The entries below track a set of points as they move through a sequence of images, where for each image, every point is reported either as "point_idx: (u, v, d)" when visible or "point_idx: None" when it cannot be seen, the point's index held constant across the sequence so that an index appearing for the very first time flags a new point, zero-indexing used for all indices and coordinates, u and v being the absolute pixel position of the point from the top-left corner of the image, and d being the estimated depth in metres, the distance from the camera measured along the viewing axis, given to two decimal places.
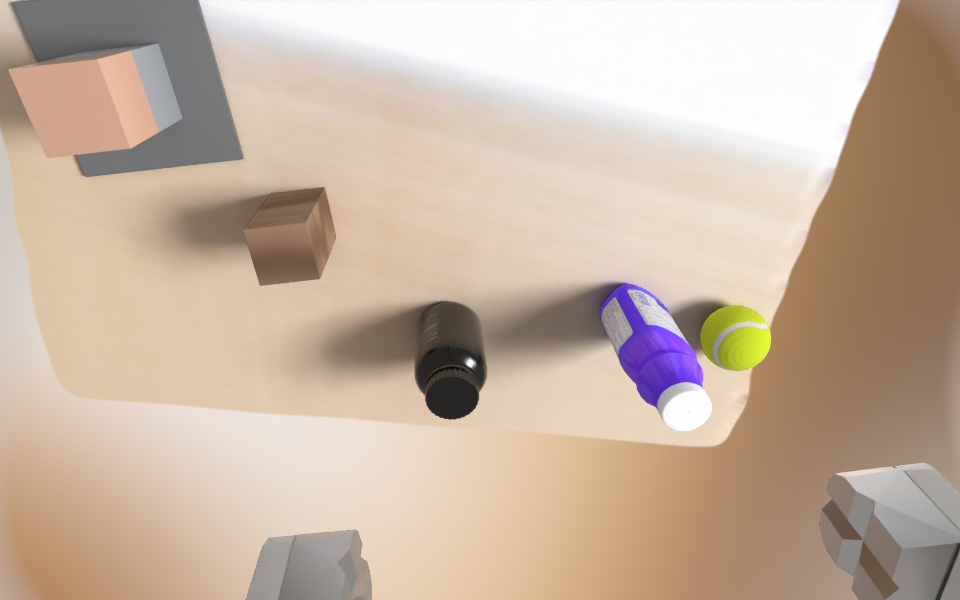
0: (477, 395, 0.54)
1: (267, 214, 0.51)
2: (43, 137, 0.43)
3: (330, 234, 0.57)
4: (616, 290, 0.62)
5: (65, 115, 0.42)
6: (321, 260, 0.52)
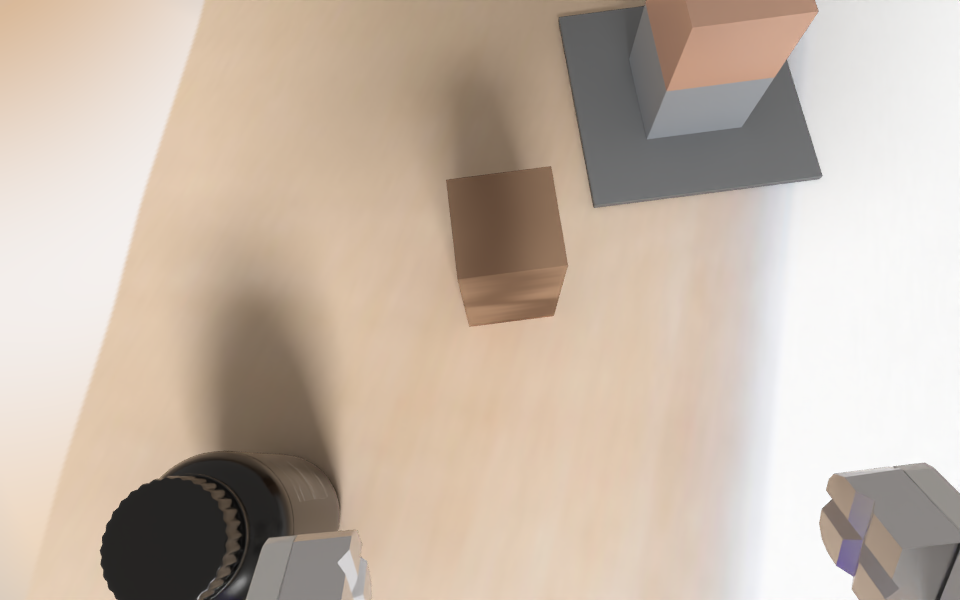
0: None
1: None
2: None
3: (487, 315, 0.34)
4: None
5: None
6: (477, 289, 0.29)
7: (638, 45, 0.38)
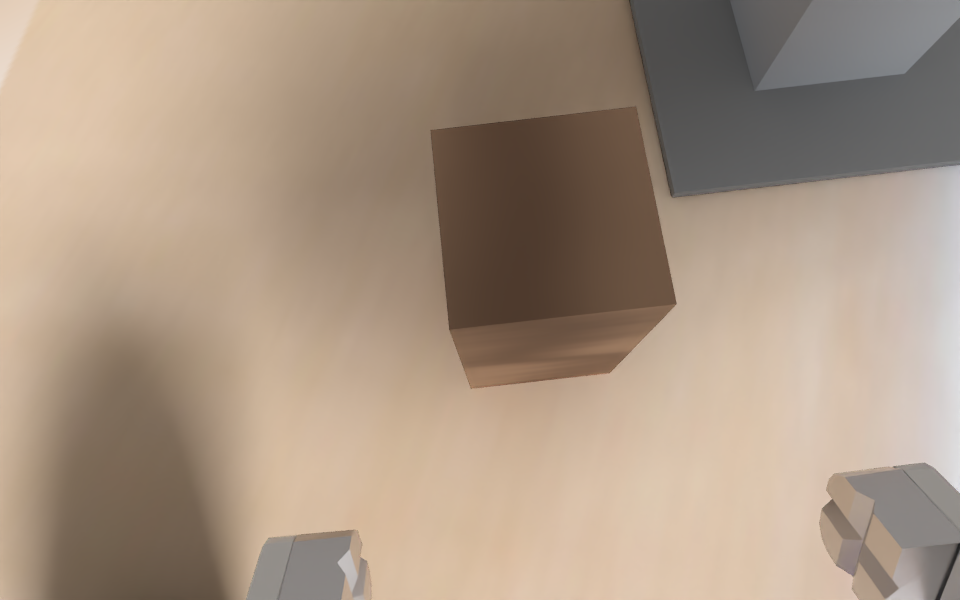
0: None
1: None
2: None
3: (501, 376, 0.20)
4: None
5: None
6: (489, 343, 0.15)
7: None
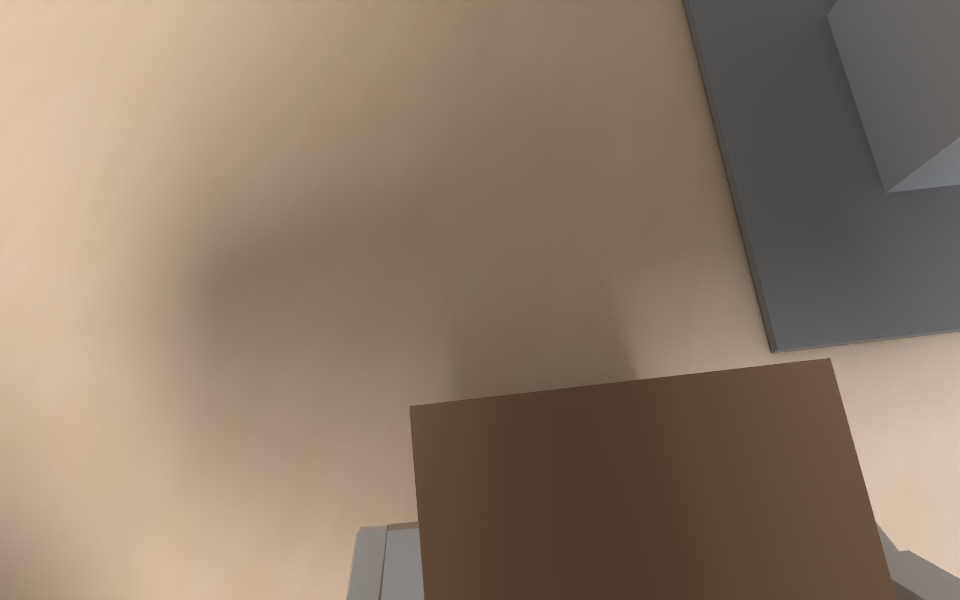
0: None
1: None
2: None
3: None
4: None
5: None
6: None
7: None
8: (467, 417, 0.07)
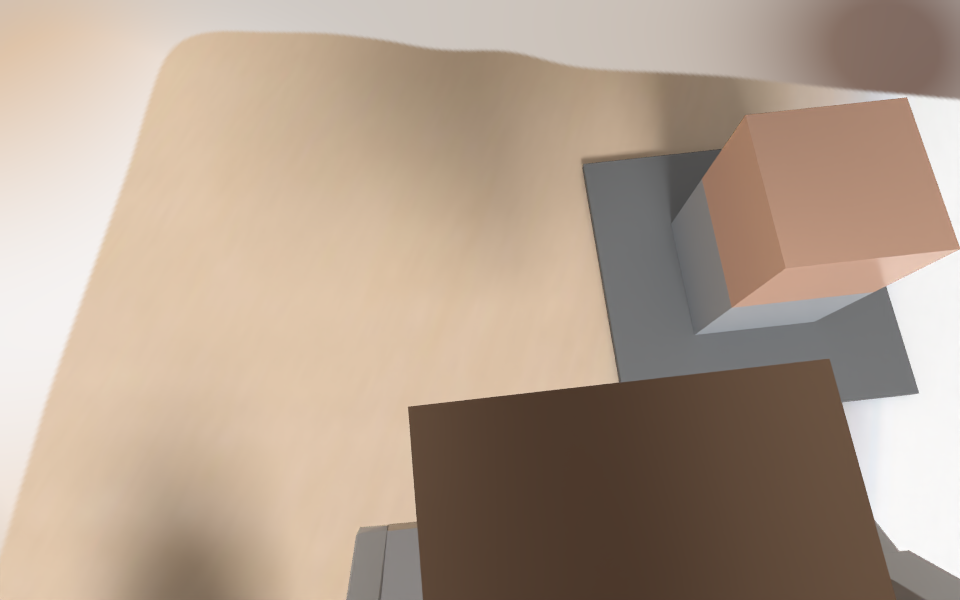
0: None
1: None
2: (786, 119, 0.22)
3: None
4: None
5: (837, 167, 0.22)
6: None
7: (686, 219, 0.30)
8: (466, 418, 0.07)
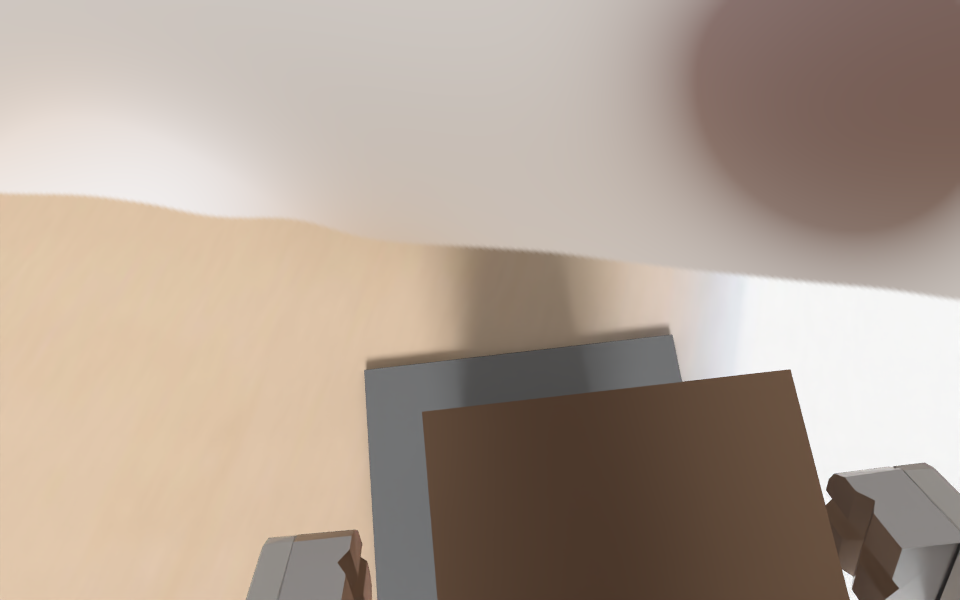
0: None
1: None
2: None
3: None
4: None
5: None
6: None
7: None
8: (472, 421, 0.08)
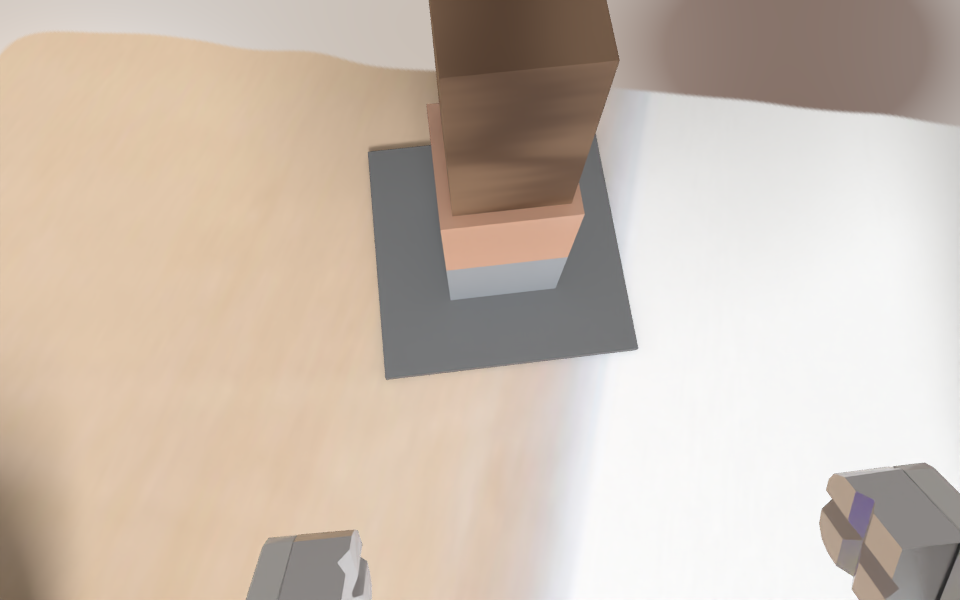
0: None
1: None
2: None
3: (479, 191, 0.24)
4: None
5: None
6: (470, 114, 0.19)
7: None
8: None
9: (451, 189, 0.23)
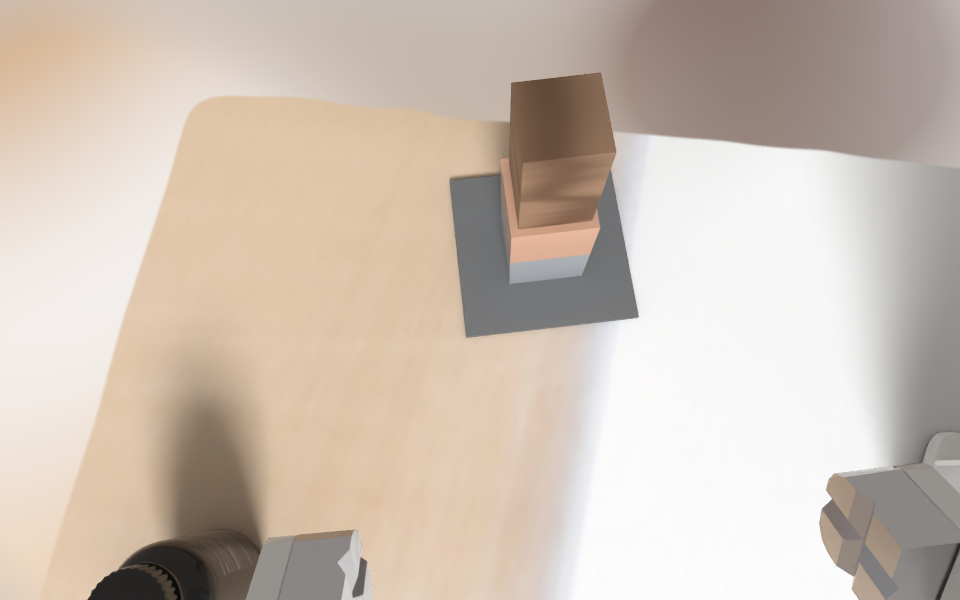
0: None
1: None
2: None
3: (536, 215, 0.39)
4: None
5: None
6: (536, 177, 0.34)
7: (501, 214, 0.50)
8: (523, 84, 0.34)
9: (520, 214, 0.39)
